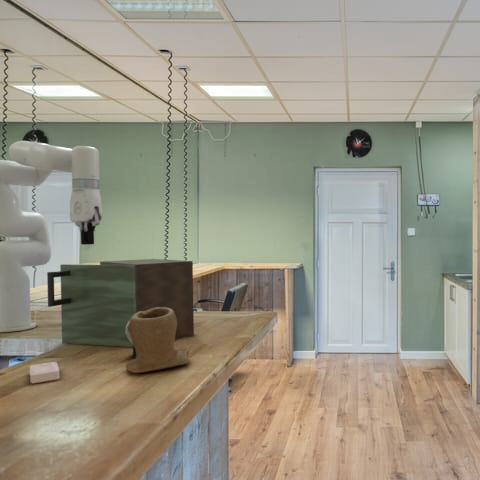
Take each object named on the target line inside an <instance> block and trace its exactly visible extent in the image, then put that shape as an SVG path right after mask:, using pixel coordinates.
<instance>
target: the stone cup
mask: <svg viewBox="0 0 480 480" xmlns="http://www.w3.org/2000/svg"><path fill="white" fill-rule="evenodd" d="M176 328H177V319H176V315H175V313H174V311H173V310H172V309H170V308H167V307H156V308H152V309H149V310H147V311H139V312H137V313H135V314H134V315H133V316H132V317H131V318H130V336H131V339H132V342H133V344H134V347H135V349H136V356H137V357H136V359H133V358H132V359H130V360H129V361H127V362H126V364H125V366H124V367H125V370H126V371H128V372H130V373H134V374H140V373H148V372H155V371H160V370H165V369H170V368H175V367H180V366H184V365H188V364H189V353H190V349H189V348H182V349H175V340H176V339H175V334H176Z"/></svg>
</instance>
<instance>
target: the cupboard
mask: <svg viewBox="0 0 480 480" xmlns="http://www.w3.org/2000/svg"><path fill="white" fill-rule="evenodd" d="M99 265H135V283H136V313H137V312H139V311H147V310H149V309H152V308H156V307H167V308H170V309H172V310H173V311H174V313H175V315H176V319H177V328H176V334H175V340H179V339H184V338H189V337H194V336H195V319H194V318H195V316H194V314H195V313H194V266H193V265H194V263H193V260H182V259H181V260H180V259H179V260H177V259H162V258H147V259H126V260H105V261H104V260H103V261H100V262H99Z"/></svg>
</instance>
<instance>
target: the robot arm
mask: <svg viewBox="0 0 480 480" xmlns="http://www.w3.org/2000/svg"><path fill="white" fill-rule="evenodd" d="M8 156H9V157H10V159H11V160H7V159H0V237H1V238H28V239H18V240H17V239H15V240H14V239H13V240H2V241H0V333H10V332H21V331H26V330H30V329H34V328H36V327H37V323H36V322H32V321H31V280H30V277H29V274H28V273H27V272H26V271H25V270H24V267H37V266H44V265H47V264H48V263H49V262H50V261H51V258H52V249H51V248H52V247H51V241H50V234H49V226H48V222H47V220H46V218H45V217H44V215H43V214H41V213H40V212H37V211H24V210H23V209H22V206H21V200H20V197H19V195H17V193H16V192H15V190H13V188H11V187H10V185H11V186H22V187H37V186H41V185H42V184H43V183H44V182H45V181H46V180H47V178H48V177H49V176H50V175H51V174H52V173H53V171H58V172H66V173H71V188H72V189H71V192H70V193H71V194H70V199H69V220H70V222H72V223H74V225H75V227H78V228H79V229H78V230H79V232H80V244H81V245H85V246H86V245H95V231H96V227H97V226H99V225H100V221H102V219H103V203H102V196H101V183H100V182H101V181H100V180H101V178H100V151H99V150H98V149H97V147H93V146H88V145H75V146H73V147H72V148H70V147H62V146H57V145H51V144H50V143H49V144H48V143H44V142H38V141H31V140H30V141H29V140H18V141H15V142H12V144H11V145H9V148H8Z"/></svg>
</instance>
